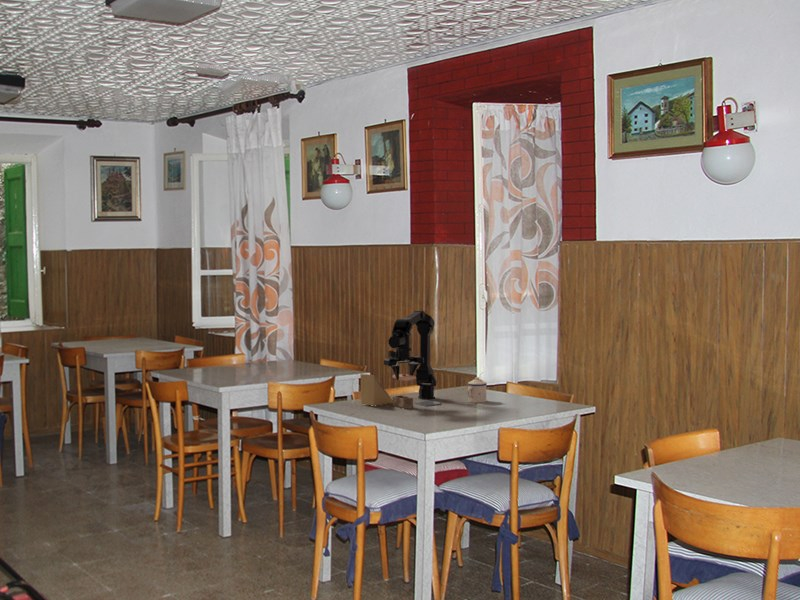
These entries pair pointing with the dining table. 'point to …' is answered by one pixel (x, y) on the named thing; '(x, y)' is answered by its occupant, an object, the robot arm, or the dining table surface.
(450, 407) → the dining table surface
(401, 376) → the lid
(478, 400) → the white printed mug
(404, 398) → the tea box
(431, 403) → the coaster
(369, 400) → the sandwich container
